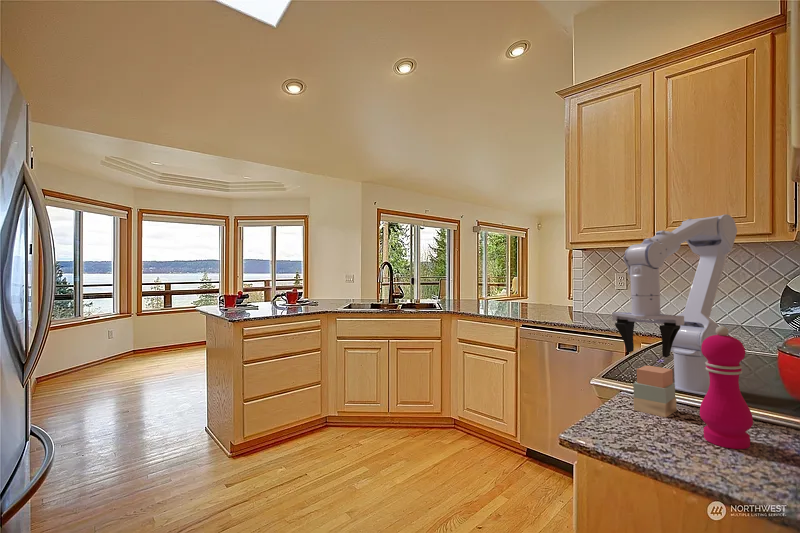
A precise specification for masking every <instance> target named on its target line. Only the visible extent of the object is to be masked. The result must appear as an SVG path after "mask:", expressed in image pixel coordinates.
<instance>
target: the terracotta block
mask: <svg viewBox="0 0 800 533" xmlns="http://www.w3.org/2000/svg"><path fill="white" fill-rule="evenodd" d="M673 374H674V373H673V369H671V368H666V367H661V366H654V365H644V366H642V367H639V368H636V382H637V383H640V384H645V385H650V386H655V387H660V388H665V387H667V386H669V385H671V384H673V383H674V381H673V380H674V378H673V377H674V376H673Z"/></svg>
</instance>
